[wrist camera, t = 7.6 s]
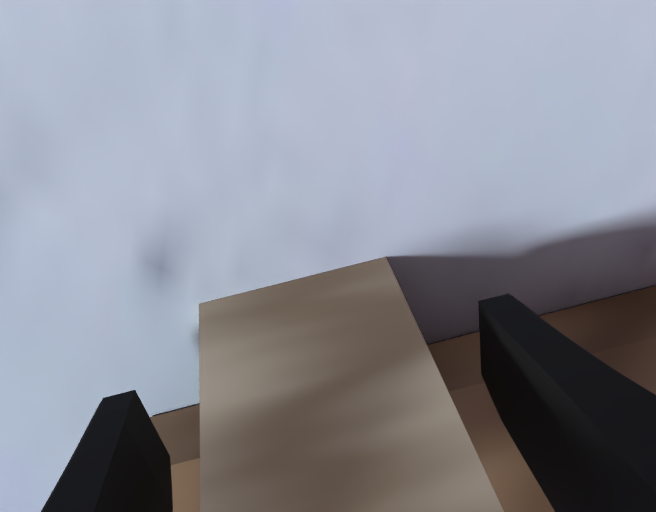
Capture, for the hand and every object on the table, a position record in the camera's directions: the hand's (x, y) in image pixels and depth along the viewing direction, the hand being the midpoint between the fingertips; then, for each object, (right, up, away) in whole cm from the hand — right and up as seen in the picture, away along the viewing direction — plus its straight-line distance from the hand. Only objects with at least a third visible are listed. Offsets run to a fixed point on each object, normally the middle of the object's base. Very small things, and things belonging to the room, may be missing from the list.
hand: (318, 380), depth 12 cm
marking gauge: (0, -1, +3) cm, 3 cm away
